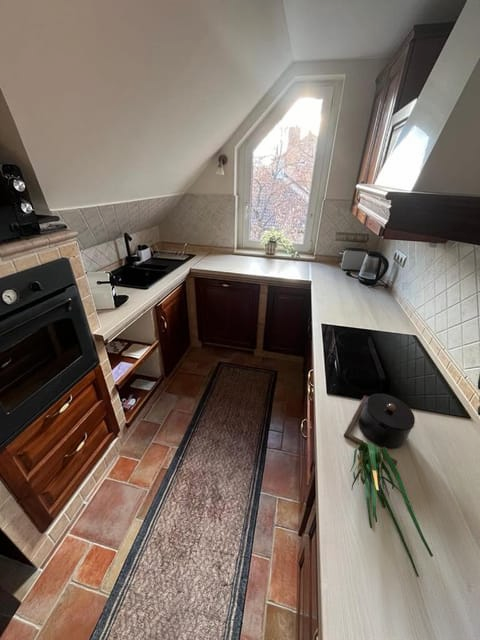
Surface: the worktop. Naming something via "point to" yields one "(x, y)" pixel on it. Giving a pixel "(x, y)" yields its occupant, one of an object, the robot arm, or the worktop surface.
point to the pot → (386, 421)
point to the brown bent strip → (347, 433)
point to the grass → (373, 473)
